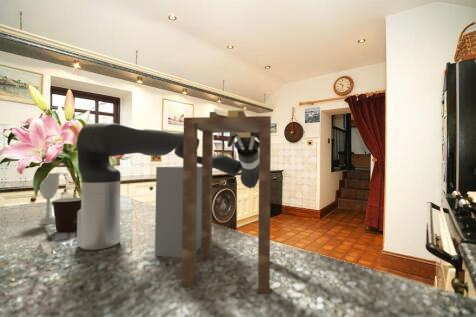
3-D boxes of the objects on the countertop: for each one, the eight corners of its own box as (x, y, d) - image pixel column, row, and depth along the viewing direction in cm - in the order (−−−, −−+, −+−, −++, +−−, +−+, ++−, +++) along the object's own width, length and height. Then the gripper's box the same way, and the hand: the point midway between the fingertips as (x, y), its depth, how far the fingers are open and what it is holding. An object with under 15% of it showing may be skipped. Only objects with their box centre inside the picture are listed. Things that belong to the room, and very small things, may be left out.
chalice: (63, 222, 86) (64, 173, 86) (40, 226, 80) (41, 174, 81) (54, 219, 90) (55, 173, 90) (32, 223, 84) (33, 173, 84)
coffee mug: (67, 234, 71) (68, 202, 72) (44, 232, 73) (45, 201, 73) (97, 224, 83) (97, 196, 83) (77, 223, 85) (77, 195, 85)
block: (154, 256, 56) (156, 167, 56) (177, 237, 70) (178, 166, 70) (190, 258, 55) (191, 167, 55) (206, 239, 68) (207, 166, 69)
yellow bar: (227, 125, 53) (227, 110, 53) (240, 137, 74) (240, 126, 75) (242, 125, 52) (243, 110, 52) (250, 137, 74) (251, 126, 74)
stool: (181, 286, 42) (183, 112, 43) (203, 255, 56) (205, 124, 57) (269, 293, 40) (270, 110, 41) (269, 260, 54) (270, 123, 55)
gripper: (230, 146, 88) (222, 116, 73) (268, 146, 86) (267, 115, 71) (228, 163, 84) (220, 135, 69) (267, 164, 82) (267, 135, 67)
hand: (244, 125), depth 70 cm, fingers closed on yellow bar, 3 cm apart
